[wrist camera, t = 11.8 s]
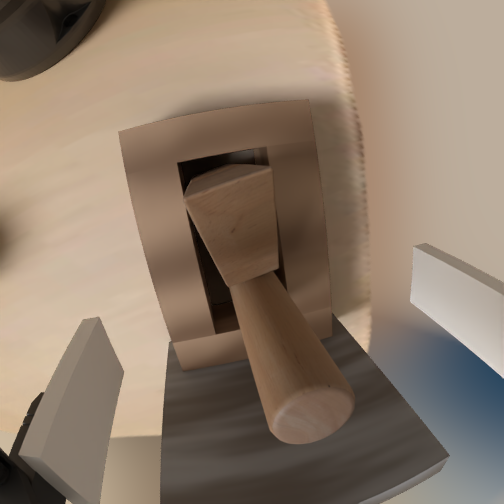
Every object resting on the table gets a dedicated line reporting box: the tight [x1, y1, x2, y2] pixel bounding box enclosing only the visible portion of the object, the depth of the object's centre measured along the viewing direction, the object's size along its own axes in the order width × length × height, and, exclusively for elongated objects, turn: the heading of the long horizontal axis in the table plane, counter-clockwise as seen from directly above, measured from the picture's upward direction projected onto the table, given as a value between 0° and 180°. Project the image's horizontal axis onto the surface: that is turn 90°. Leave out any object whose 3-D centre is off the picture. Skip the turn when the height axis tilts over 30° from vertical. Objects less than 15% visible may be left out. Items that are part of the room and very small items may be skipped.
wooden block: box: [183, 164, 355, 444], centre depth 17 cm, size 4×11×18 cm, turn 18°
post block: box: [118, 100, 450, 504], centre depth 17 cm, size 21×16×20 cm
